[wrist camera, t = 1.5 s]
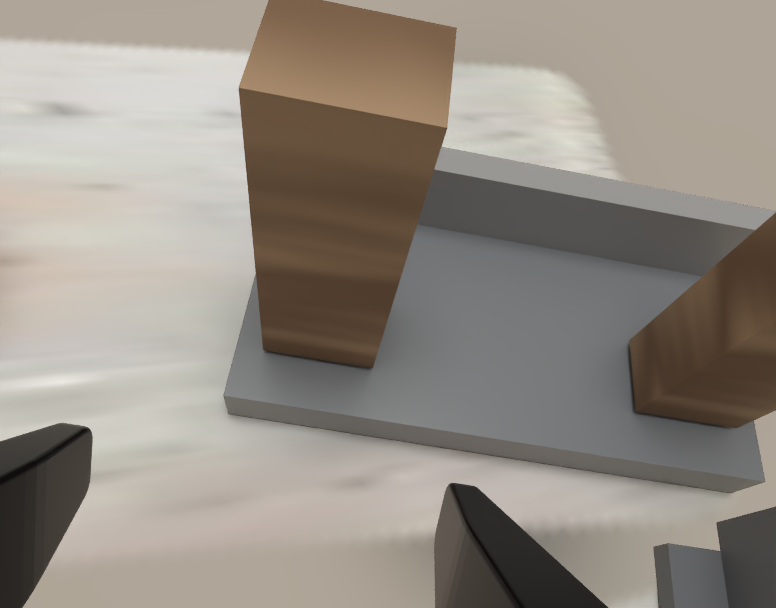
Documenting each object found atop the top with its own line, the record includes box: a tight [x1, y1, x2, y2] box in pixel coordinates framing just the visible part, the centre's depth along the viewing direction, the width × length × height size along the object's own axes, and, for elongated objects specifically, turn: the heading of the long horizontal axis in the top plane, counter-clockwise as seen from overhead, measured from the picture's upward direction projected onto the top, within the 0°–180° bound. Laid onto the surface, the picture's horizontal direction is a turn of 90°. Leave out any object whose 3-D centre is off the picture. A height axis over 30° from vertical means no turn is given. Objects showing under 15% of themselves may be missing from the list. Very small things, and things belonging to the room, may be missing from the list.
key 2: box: [239, 0, 457, 368], centre depth 17 cm, size 3×4×12 cm
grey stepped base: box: [223, 147, 776, 493], centre depth 24 cm, size 10×20×6 cm, turn 83°
